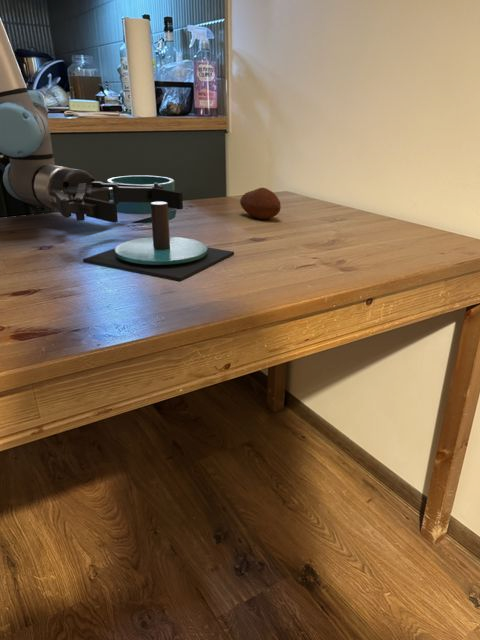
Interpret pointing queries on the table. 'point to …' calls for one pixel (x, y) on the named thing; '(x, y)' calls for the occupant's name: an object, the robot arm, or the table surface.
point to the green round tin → (142, 206)
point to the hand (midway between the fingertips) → (150, 206)
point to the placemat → (164, 271)
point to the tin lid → (160, 243)
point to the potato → (260, 203)
